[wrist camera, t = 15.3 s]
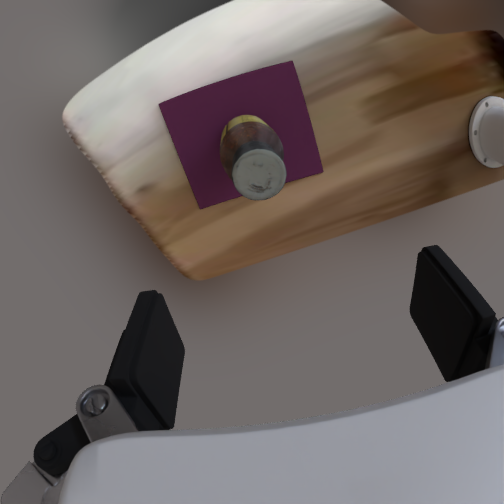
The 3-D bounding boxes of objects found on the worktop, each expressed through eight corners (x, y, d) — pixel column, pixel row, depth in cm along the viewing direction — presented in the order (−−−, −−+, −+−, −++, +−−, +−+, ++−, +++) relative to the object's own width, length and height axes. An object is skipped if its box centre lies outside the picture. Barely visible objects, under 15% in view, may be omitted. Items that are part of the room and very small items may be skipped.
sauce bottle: (247, 168, 42) (256, 236, 25) (212, 138, 40) (193, 186, 23) (281, 133, 40) (317, 178, 23) (246, 101, 38) (254, 119, 21)
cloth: (292, 60, 35) (292, 60, 35) (322, 171, 43) (323, 172, 43) (158, 103, 37) (158, 103, 37) (200, 208, 45) (200, 209, 45)
